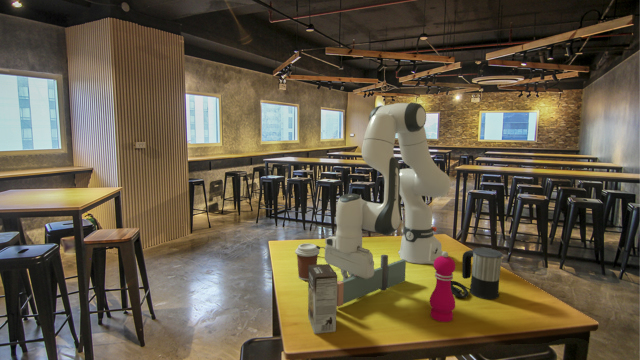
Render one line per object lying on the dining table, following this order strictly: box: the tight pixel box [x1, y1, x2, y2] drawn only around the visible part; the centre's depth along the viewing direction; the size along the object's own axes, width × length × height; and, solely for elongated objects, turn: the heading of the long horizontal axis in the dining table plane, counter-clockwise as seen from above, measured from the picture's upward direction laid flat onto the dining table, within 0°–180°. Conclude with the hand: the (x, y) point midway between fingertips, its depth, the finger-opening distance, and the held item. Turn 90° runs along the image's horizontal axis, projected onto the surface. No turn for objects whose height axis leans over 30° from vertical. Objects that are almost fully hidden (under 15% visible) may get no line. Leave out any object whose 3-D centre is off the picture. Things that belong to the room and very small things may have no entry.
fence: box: [334, 254, 407, 291], centre depth 119 cm, size 37×2×12 cm, turn 131°
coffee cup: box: [294, 243, 320, 281], centre depth 134 cm, size 9×9×12 cm
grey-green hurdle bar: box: [337, 267, 383, 307], centre depth 116 cm, size 21×2×7 cm, turn 131°
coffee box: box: [307, 263, 338, 335], centre depth 100 cm, size 9×6×16 cm
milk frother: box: [451, 247, 504, 300], centre depth 120 cm, size 14×16×15 cm
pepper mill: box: [429, 250, 456, 323], centre depth 105 cm, size 7×7×20 cm
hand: (347, 282), depth 121 cm, fingers closed
